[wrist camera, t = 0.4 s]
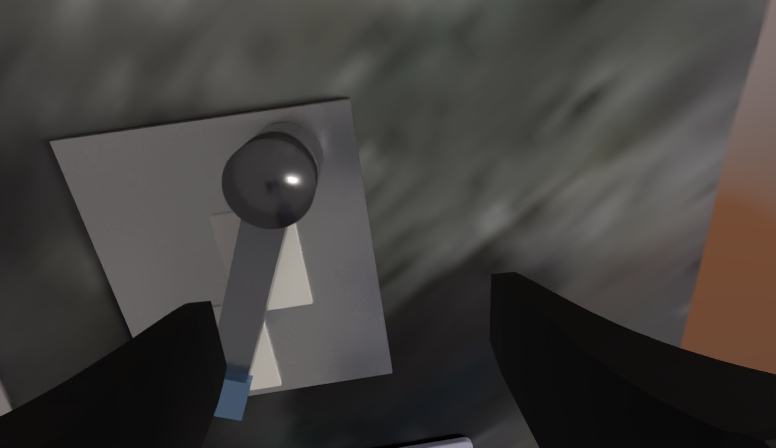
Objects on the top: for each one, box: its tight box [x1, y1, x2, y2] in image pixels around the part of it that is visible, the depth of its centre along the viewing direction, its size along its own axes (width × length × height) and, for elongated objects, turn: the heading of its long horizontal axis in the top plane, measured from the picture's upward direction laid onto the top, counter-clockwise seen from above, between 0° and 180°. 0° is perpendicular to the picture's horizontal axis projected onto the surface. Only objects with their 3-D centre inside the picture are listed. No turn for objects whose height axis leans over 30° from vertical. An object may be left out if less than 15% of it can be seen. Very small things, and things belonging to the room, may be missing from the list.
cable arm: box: [214, 123, 322, 420], centre depth 17 cm, size 12×3×4 cm, turn 162°
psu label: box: [209, 212, 313, 311], centre depth 20 cm, size 5×4×1 cm
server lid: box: [49, 97, 392, 396], centre depth 20 cm, size 14×12×1 cm
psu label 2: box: [213, 306, 281, 390], centre depth 21 cm, size 5×4×1 cm
